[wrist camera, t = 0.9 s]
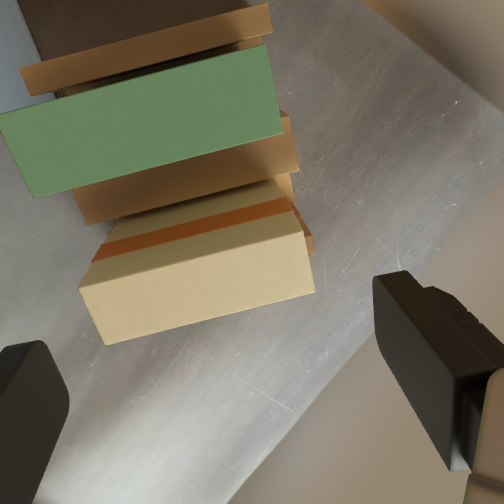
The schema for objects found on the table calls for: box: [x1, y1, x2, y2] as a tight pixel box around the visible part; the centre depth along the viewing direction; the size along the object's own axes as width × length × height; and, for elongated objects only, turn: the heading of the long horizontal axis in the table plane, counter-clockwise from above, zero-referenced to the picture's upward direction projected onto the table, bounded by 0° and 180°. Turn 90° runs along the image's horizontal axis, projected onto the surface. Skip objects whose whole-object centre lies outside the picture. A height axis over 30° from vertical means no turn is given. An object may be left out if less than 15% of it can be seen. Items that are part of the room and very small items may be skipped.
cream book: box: [78, 177, 315, 345], centre depth 27 cm, size 4×11×14 cm, turn 103°
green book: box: [0, 44, 283, 198], centre depth 23 cm, size 4×11×14 cm, turn 103°
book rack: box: [19, 2, 315, 255], centre depth 29 cm, size 16×14×7 cm
